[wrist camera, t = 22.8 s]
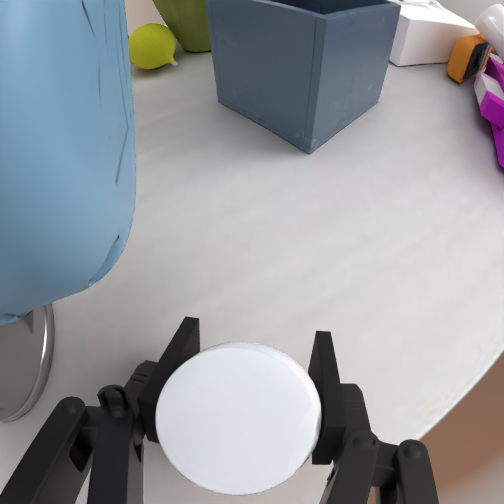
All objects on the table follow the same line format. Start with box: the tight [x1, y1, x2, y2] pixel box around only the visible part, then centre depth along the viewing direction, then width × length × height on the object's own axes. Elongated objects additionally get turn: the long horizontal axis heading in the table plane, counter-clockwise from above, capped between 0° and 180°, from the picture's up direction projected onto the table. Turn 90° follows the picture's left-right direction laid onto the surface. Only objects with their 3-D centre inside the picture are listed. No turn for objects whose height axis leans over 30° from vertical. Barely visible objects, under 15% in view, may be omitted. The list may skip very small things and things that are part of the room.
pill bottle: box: [156, 342, 322, 495], centre depth 12 cm, size 6×6×11 cm
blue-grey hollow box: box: [205, 0, 401, 154], centre depth 25 cm, size 14×13×13 cm
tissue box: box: [389, 0, 479, 66], centre depth 36 cm, size 14×25×11 cm, turn 118°
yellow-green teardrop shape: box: [128, 24, 178, 69], centre depth 33 cm, size 7×7×10 cm
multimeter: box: [447, 34, 492, 83], centre depth 34 cm, size 9×18×3 cm
